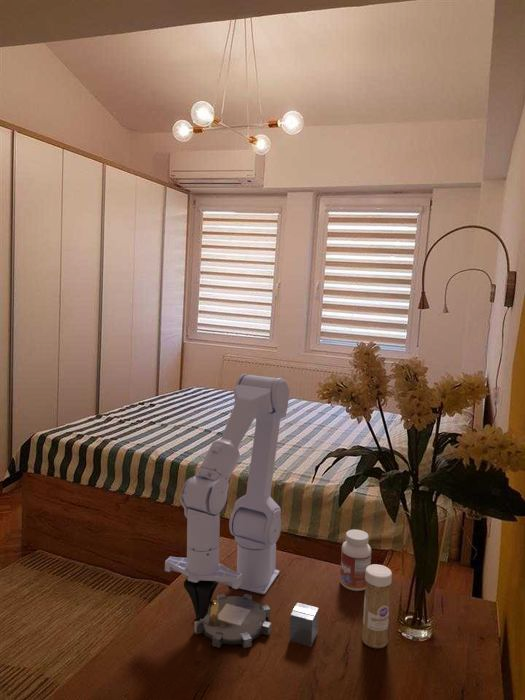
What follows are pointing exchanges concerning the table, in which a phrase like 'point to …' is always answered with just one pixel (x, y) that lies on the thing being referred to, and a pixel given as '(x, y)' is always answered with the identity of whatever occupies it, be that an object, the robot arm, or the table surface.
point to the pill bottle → (355, 560)
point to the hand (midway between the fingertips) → (201, 615)
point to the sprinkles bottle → (376, 605)
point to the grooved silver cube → (304, 624)
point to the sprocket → (234, 621)
